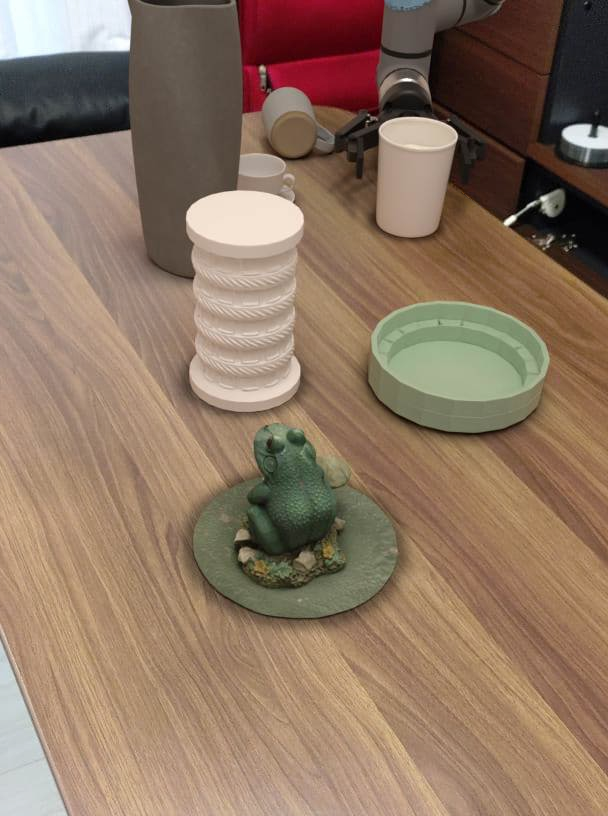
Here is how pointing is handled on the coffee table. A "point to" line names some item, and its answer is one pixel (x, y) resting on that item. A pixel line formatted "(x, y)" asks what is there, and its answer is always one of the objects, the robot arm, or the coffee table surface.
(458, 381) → the bowl
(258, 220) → the decorative container
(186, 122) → the vase
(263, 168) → the teacup
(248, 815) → the coffee table surface
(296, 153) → the ceramic mug
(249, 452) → the coffee table surface
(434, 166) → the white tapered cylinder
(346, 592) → the frog figurine
